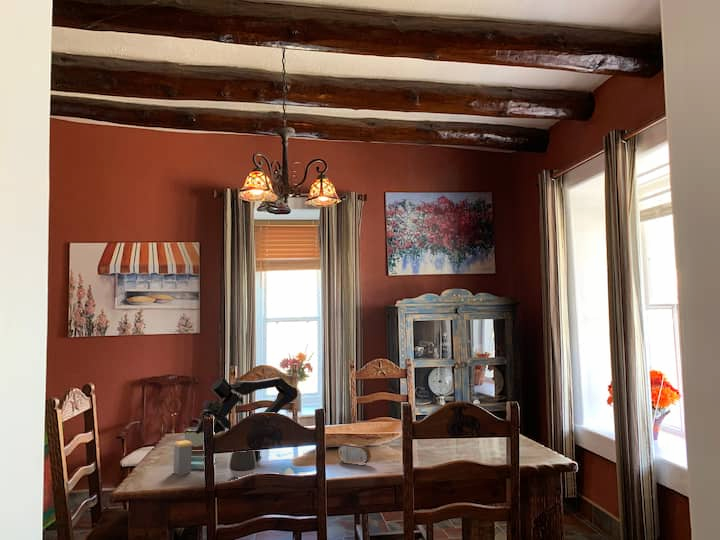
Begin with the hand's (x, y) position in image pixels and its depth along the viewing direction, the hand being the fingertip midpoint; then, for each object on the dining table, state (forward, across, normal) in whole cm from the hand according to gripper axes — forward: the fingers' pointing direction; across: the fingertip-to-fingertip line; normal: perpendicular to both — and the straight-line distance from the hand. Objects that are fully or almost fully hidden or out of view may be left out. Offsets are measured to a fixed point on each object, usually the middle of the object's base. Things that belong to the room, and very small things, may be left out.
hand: (201, 435), depth 213 cm
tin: (-28, +34, +48) cm, 65 cm away
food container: (+1, -30, +19) cm, 36 cm away
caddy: (+15, 0, +4) cm, 16 cm away
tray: (+8, -6, +11) cm, 15 cm away
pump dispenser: (+4, +20, +16) cm, 26 cm away
